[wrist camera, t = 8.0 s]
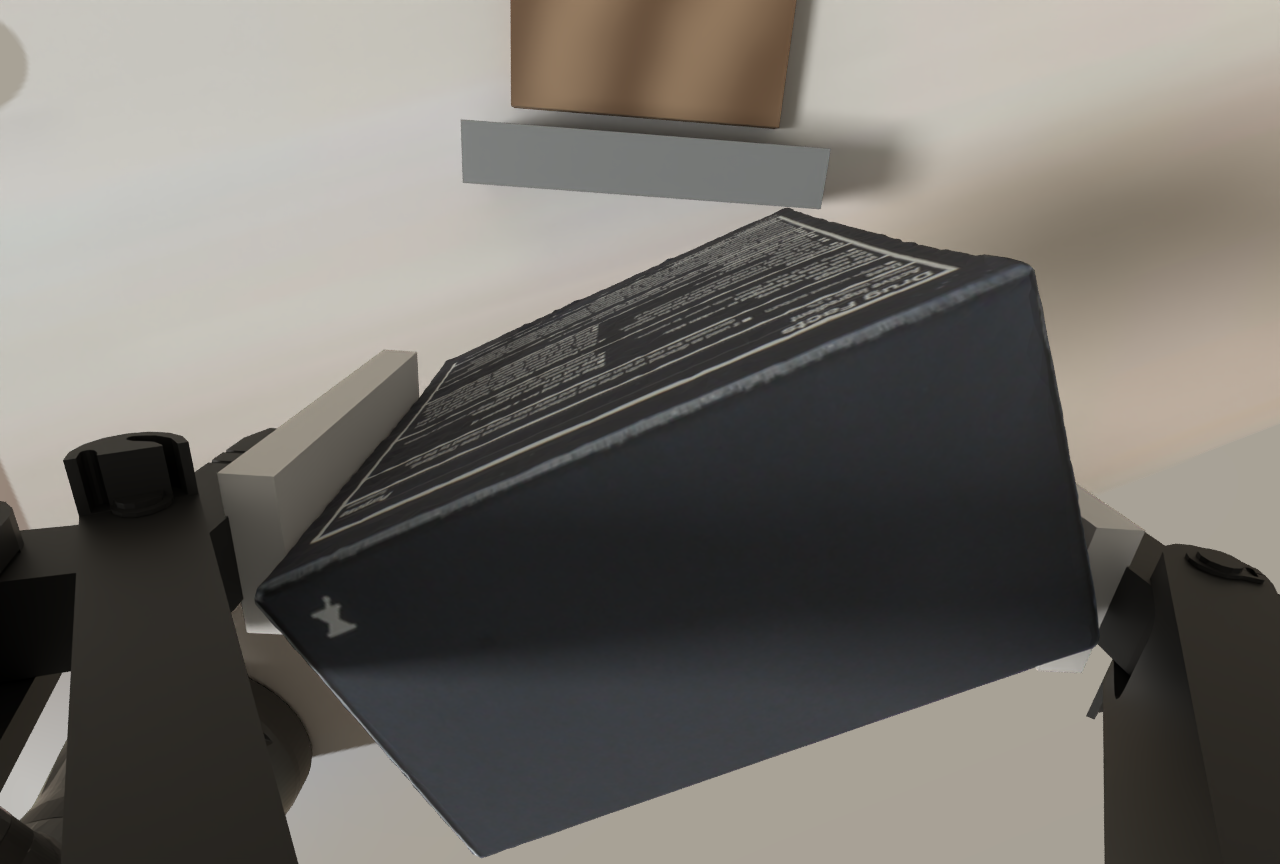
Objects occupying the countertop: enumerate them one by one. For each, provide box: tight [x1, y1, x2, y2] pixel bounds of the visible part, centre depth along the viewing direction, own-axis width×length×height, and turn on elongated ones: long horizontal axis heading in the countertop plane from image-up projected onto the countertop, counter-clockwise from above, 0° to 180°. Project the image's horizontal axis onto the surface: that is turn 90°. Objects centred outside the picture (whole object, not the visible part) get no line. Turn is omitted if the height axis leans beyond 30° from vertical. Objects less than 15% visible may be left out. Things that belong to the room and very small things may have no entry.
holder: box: [461, 120, 831, 209], centre depth 33 cm, size 16×18×5 cm
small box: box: [254, 208, 1100, 858], centre depth 13 cm, size 11×6×10 cm, turn 114°
